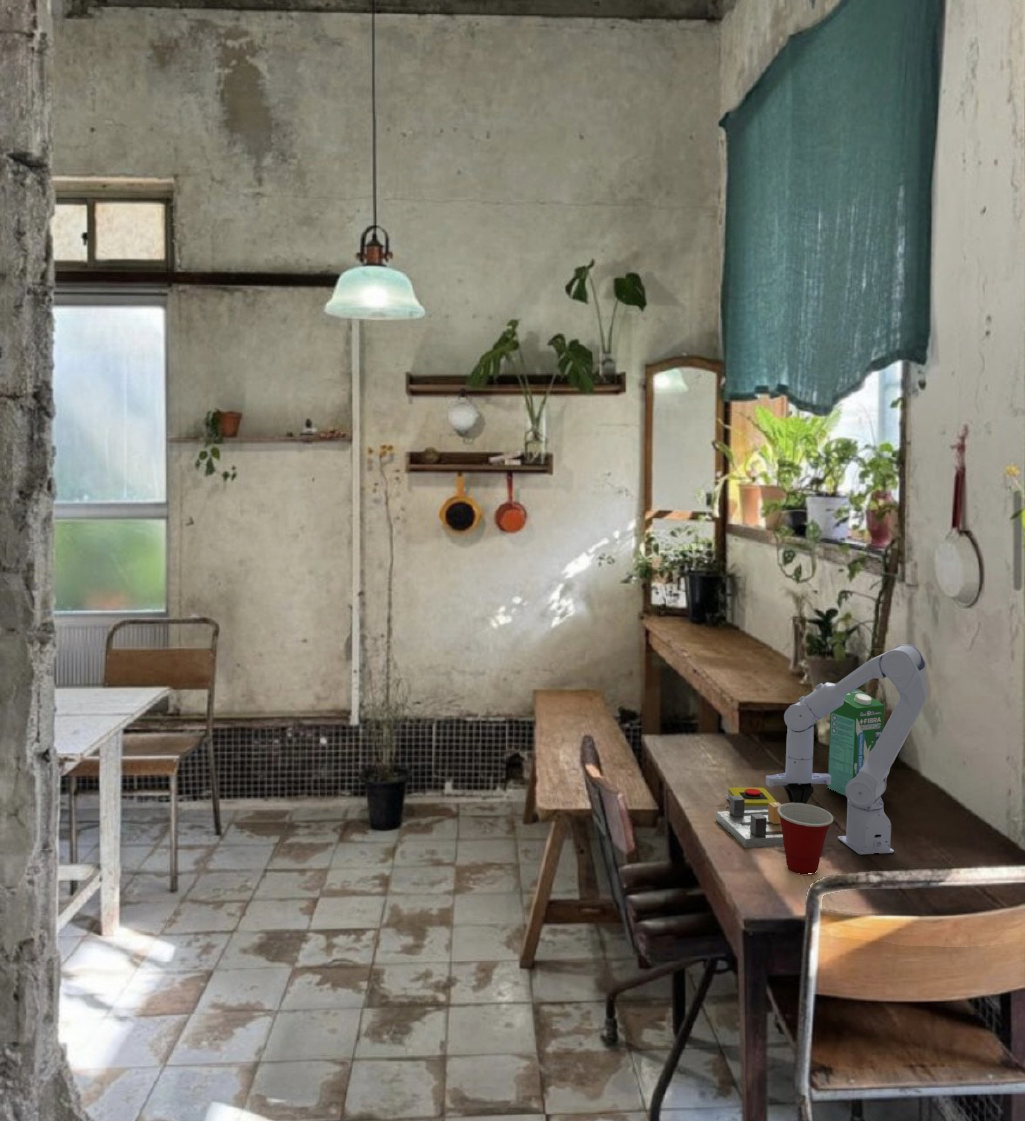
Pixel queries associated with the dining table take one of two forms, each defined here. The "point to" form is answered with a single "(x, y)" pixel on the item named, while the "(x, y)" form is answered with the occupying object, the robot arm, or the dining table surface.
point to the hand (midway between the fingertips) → (797, 816)
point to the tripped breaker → (773, 813)
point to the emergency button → (752, 797)
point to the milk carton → (853, 737)
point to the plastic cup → (803, 835)
